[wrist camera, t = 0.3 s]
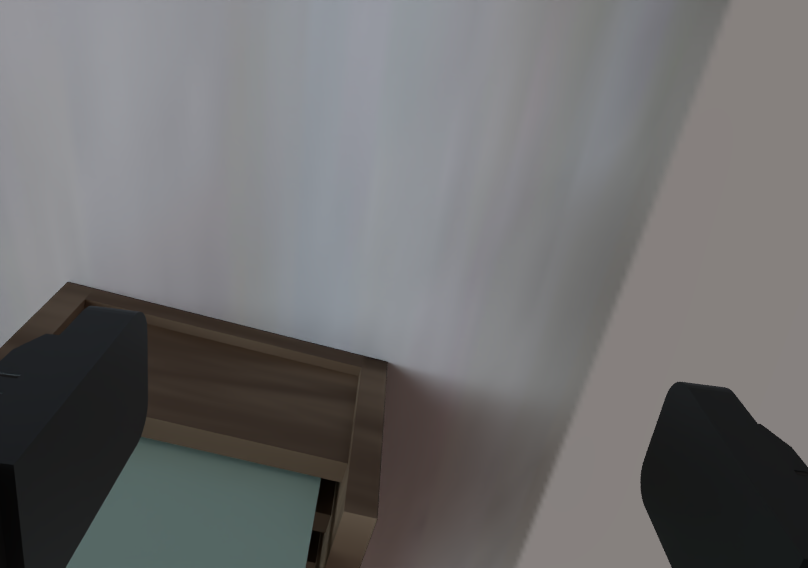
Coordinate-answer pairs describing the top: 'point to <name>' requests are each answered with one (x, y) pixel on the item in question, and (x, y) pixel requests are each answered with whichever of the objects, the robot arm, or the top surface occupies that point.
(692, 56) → the top surface
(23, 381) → the robot arm
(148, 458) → the tall sheet
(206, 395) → the rack
